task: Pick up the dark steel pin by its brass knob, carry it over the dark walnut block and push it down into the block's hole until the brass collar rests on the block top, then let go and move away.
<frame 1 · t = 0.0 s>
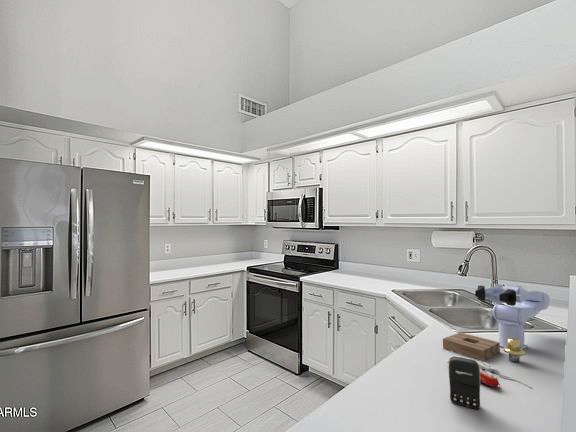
hand: (488, 295, 107), 22 cm above the countertop, tool horizontal, fingers open, 7 cm apart
hitch block: (471, 350, 113), on the countertop
pin: (514, 361, 103), on the countertop
battery charger: (464, 405, 76), on the countertop
pliers: (496, 377, 92), on the countertop, touching candy bar
candy bar: (471, 377, 91), on the countertop, touching pliers
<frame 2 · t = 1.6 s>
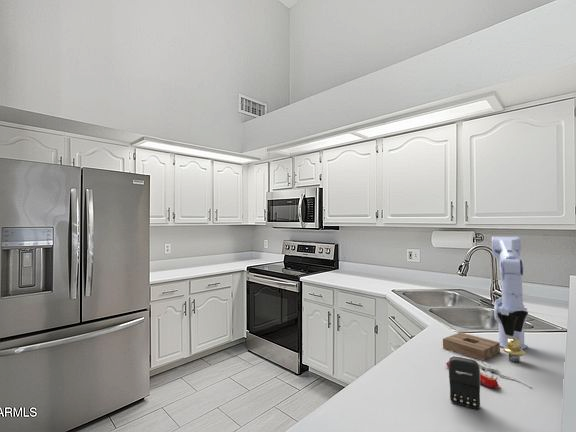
hand: (513, 333, 104), 9 cm above the countertop, tool pointing down, fingers open, 7 cm apart
pliers: (496, 377, 92), on the countertop
candy bar: (470, 378, 91), on the countertop
everything else where it was.
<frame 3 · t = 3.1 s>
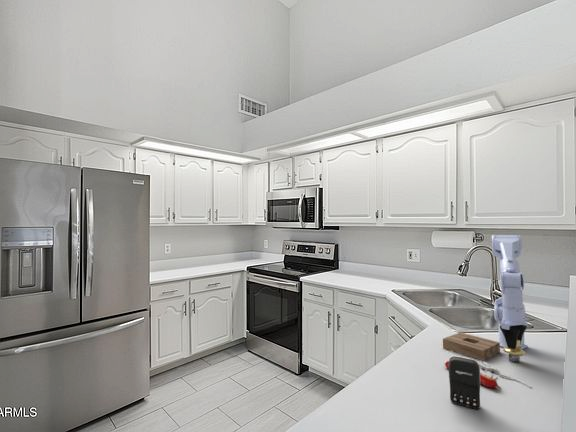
hand: (513, 347, 103), 5 cm above the countertop, tool pointing down, fingers closed on pin, 4 cm apart
pin: (514, 361, 103), on the countertop, touching gripper
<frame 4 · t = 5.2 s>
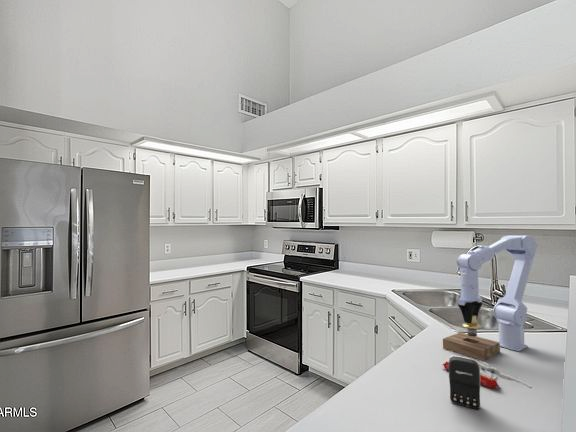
hand: (470, 321, 113), 10 cm above the countertop, tool pointing down, fingers closed on pin, 4 cm apart
pin: (472, 335, 113), point 6 cm above the countertop, touching gripper
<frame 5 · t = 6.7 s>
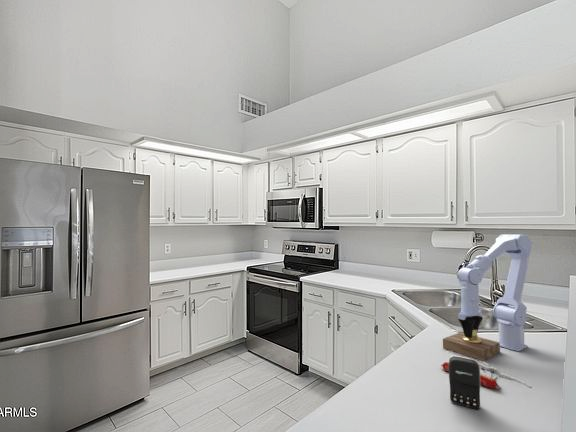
hand: (470, 336, 113), 5 cm above the countertop, tool pointing down, fingers closed on pin, 4 cm apart
pin: (472, 349, 112), resting in hitch block, touching gripper
when the fingers open (5 cm above the countertop, at t = 7.5 s): pin stays where it is, resting on hitch block.
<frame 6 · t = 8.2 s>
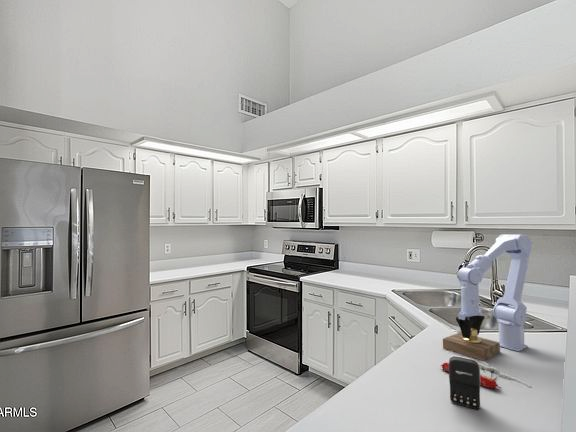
hand: (470, 336, 113), 5 cm above the countertop, tool pointing down, fingers open, 7 cm apart
pin: (472, 349, 112), resting on hitch block
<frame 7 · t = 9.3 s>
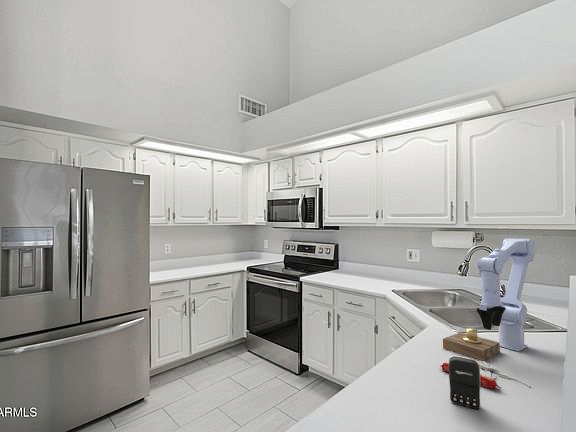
hand: (491, 327, 110), 9 cm above the countertop, tool pointing down, fingers open, 7 cm apart
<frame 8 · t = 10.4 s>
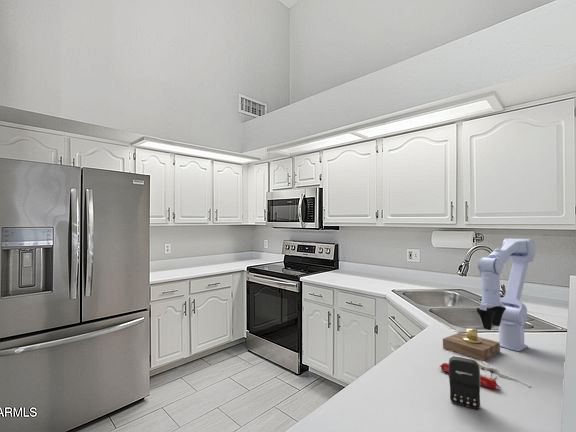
hand: (491, 327, 110), 9 cm above the countertop, tool pointing down, fingers open, 7 cm apart
at the end: pin 0.3 cm off-centre on the hitch block, point 0.5 cm above the hitch block's base; pin tilted 0°; the gripper is holding nothing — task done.
